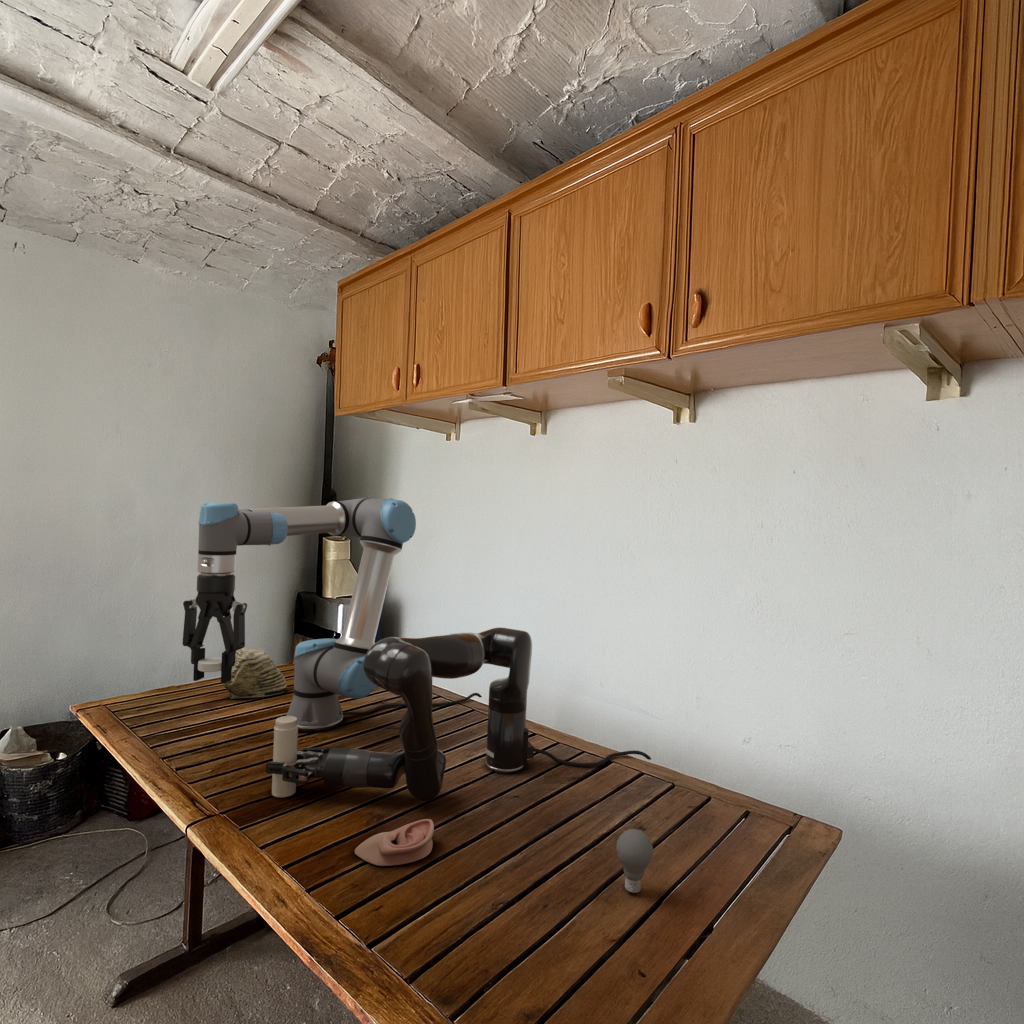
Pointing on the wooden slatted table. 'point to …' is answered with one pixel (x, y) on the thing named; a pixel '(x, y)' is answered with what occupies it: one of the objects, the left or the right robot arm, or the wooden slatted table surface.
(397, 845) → the anatomical model
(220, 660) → the lid
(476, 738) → the wooden slatted table surface
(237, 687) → the fossil
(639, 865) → the light bulb
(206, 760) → the wooden slatted table surface
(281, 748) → the jar
